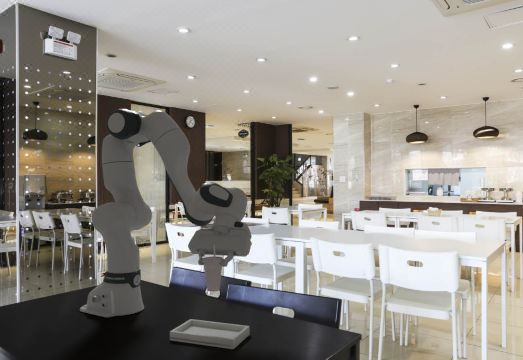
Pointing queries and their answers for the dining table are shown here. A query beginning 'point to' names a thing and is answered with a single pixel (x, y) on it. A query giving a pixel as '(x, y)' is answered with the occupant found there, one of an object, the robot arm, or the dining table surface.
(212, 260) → the smoothie
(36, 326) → the dining table surface
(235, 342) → the tray
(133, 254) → the robot arm
